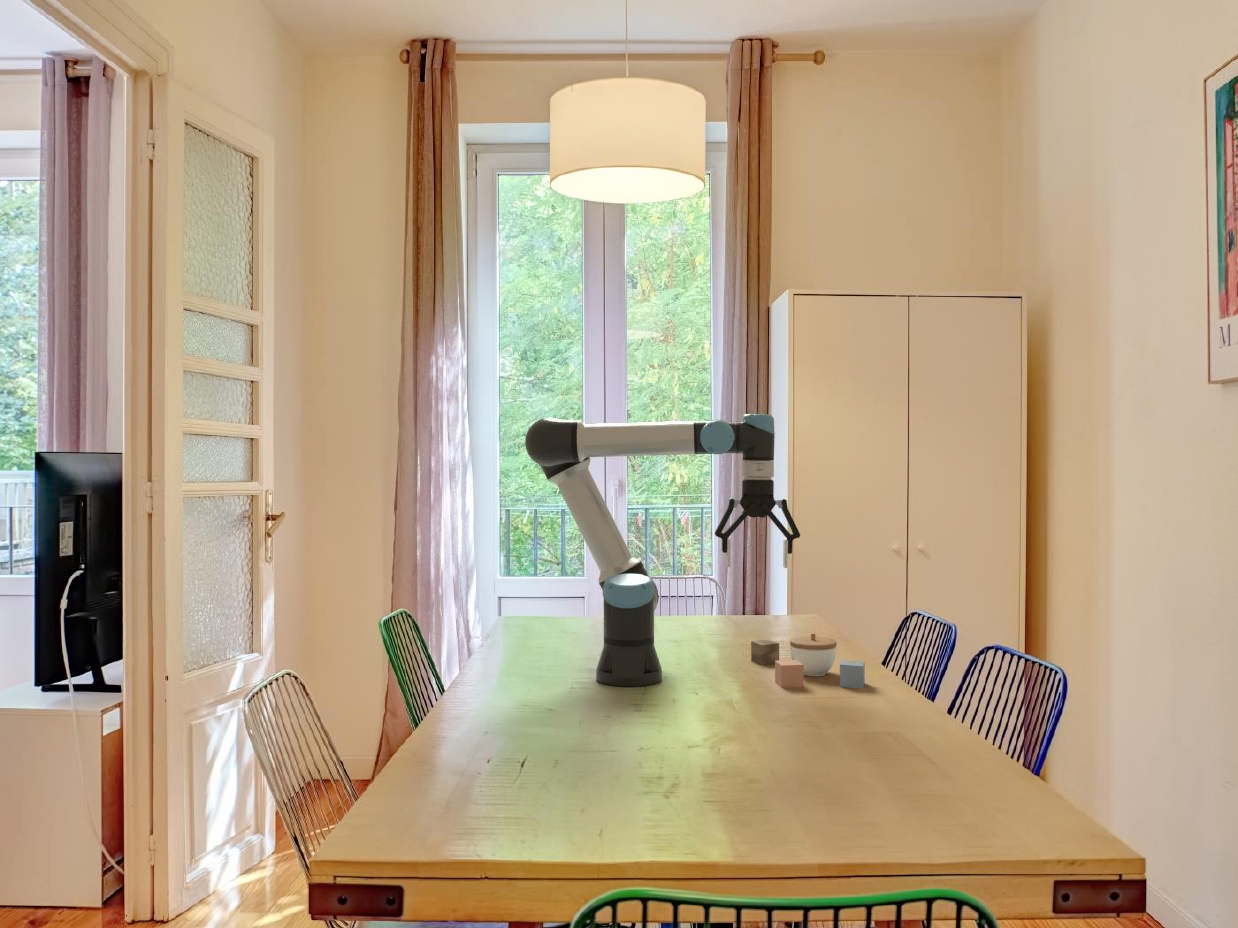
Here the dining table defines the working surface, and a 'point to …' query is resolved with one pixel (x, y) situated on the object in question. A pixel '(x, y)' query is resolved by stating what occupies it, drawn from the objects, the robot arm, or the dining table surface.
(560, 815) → the dining table surface
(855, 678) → the cube slate
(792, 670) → the cube terracotta
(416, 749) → the dining table surface
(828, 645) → the lidded jar
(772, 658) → the cube walnut
